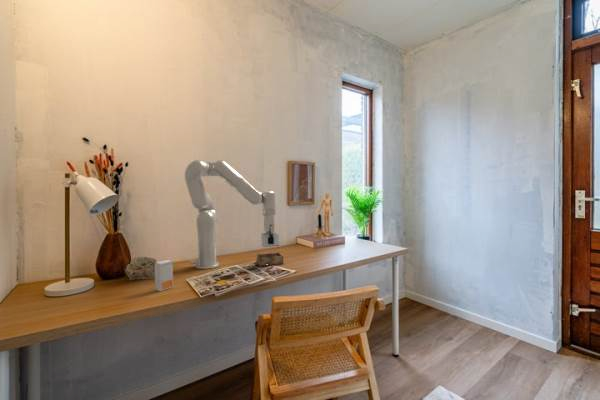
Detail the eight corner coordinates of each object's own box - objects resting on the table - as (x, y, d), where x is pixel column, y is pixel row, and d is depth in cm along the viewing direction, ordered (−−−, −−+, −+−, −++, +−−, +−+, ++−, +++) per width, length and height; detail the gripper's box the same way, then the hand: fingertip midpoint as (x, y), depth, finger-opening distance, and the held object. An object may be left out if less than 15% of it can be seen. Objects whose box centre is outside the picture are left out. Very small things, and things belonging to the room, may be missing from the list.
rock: (164, 279, 137) (158, 261, 134) (131, 292, 129) (125, 273, 126) (156, 265, 153) (151, 249, 150) (127, 276, 145) (121, 259, 142)
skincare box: (160, 291, 116) (159, 264, 116) (155, 290, 119) (154, 262, 118) (173, 287, 121) (172, 260, 121) (168, 285, 124) (167, 259, 123)
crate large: (259, 266, 154) (259, 258, 154) (256, 261, 164) (256, 254, 164) (283, 263, 158) (283, 256, 158) (279, 259, 168) (279, 252, 168)
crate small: (263, 247, 156) (262, 234, 156) (261, 244, 163) (261, 233, 162) (278, 245, 159) (278, 233, 159) (276, 243, 165) (276, 232, 165)
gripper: (260, 211, 167) (261, 240, 168) (265, 214, 151) (266, 246, 151) (272, 211, 169) (273, 240, 170) (278, 213, 153) (279, 245, 154)
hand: (269, 242), depth 161 cm, fingers closed on crate small, 6 cm apart
